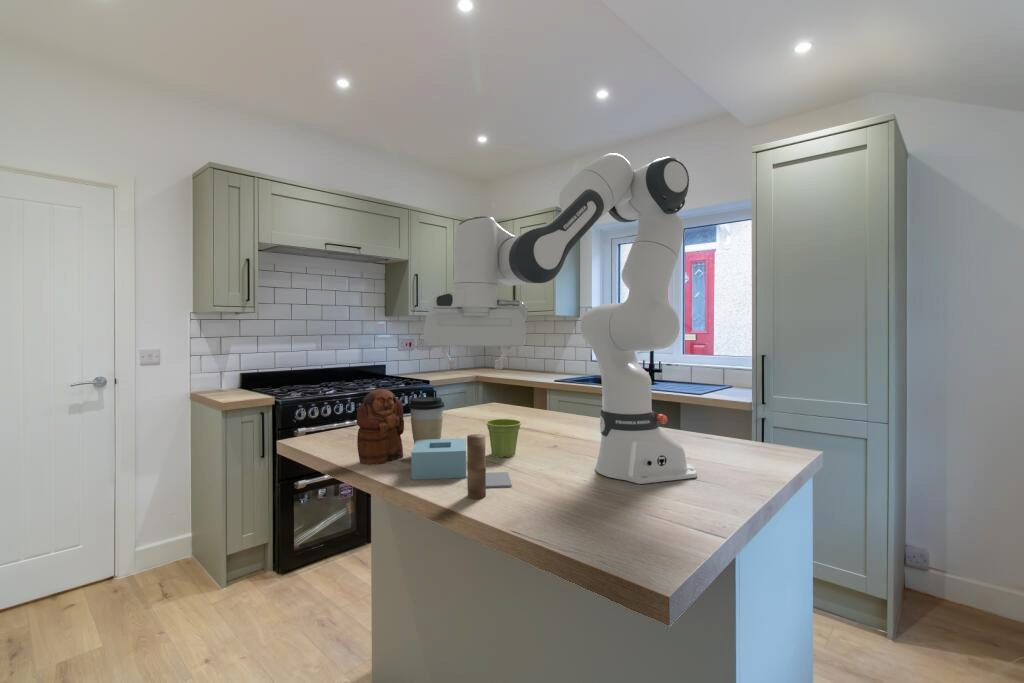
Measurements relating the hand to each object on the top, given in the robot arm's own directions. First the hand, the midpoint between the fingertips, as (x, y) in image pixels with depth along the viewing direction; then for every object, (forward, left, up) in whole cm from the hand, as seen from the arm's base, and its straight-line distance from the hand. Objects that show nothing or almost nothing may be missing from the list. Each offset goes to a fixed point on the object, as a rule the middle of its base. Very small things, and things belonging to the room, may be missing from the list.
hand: (475, 369), depth 96 cm
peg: (0, +1, -25) cm, 25 cm away
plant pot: (-8, -29, -26) cm, 40 cm away
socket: (+8, -17, -25) cm, 32 cm away
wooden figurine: (+23, -29, -26) cm, 45 cm away
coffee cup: (+12, -30, -26) cm, 41 cm away
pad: (-3, -8, -25) cm, 27 cm away
